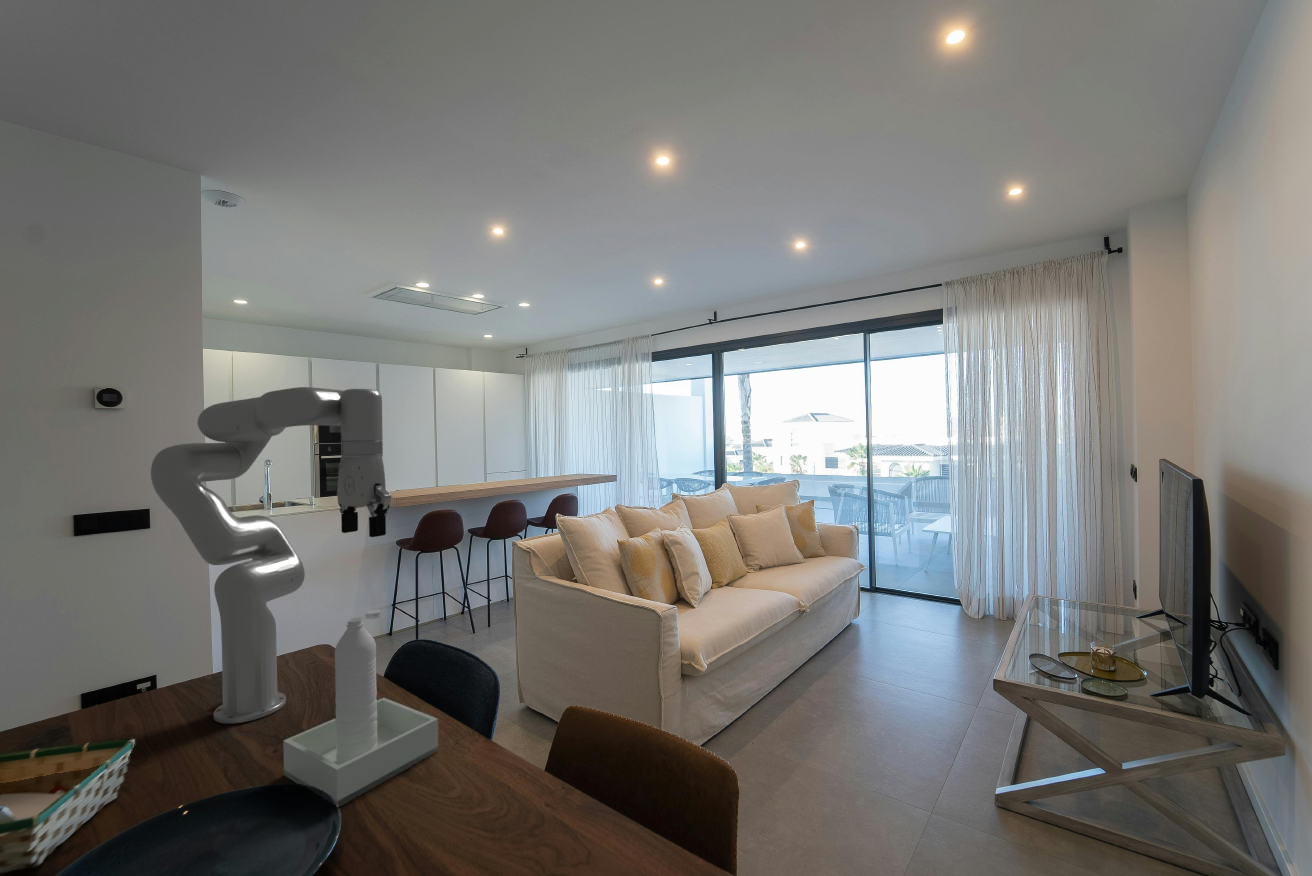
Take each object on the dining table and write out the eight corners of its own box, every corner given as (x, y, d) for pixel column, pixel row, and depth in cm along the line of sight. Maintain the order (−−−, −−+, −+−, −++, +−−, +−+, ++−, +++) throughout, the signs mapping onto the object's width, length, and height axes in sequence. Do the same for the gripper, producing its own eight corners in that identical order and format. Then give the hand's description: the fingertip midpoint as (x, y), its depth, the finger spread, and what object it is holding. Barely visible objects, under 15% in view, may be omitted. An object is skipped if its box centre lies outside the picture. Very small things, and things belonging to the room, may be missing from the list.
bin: (283, 775, 99) (283, 740, 99) (384, 727, 115) (384, 697, 115) (337, 807, 90) (336, 769, 90) (438, 751, 106) (437, 718, 106)
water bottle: (358, 773, 97) (355, 626, 97) (327, 767, 99) (325, 623, 99) (394, 746, 106) (392, 610, 106) (366, 741, 108) (363, 608, 107)
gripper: (320, 450, 118) (321, 533, 118) (369, 451, 109) (370, 540, 109) (355, 449, 125) (357, 527, 125) (405, 449, 115) (406, 534, 116)
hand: (363, 533), depth 117 cm, fingers open, 9 cm apart
